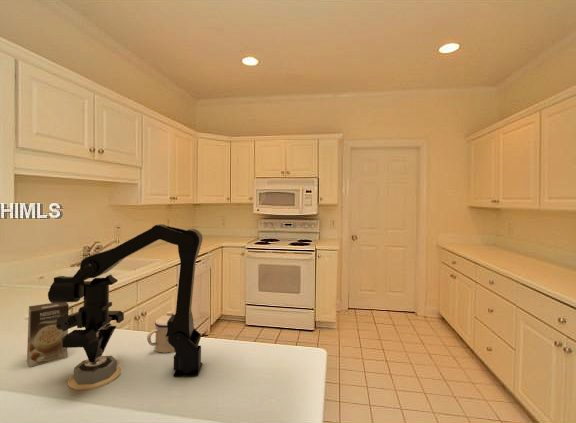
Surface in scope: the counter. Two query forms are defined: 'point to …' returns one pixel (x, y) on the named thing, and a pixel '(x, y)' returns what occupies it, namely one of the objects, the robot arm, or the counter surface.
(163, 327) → the teacup with lid
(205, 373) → the counter surface
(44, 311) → the coffee box
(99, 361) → the plunger
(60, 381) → the counter surface
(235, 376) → the counter surface
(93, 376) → the grey bowl
